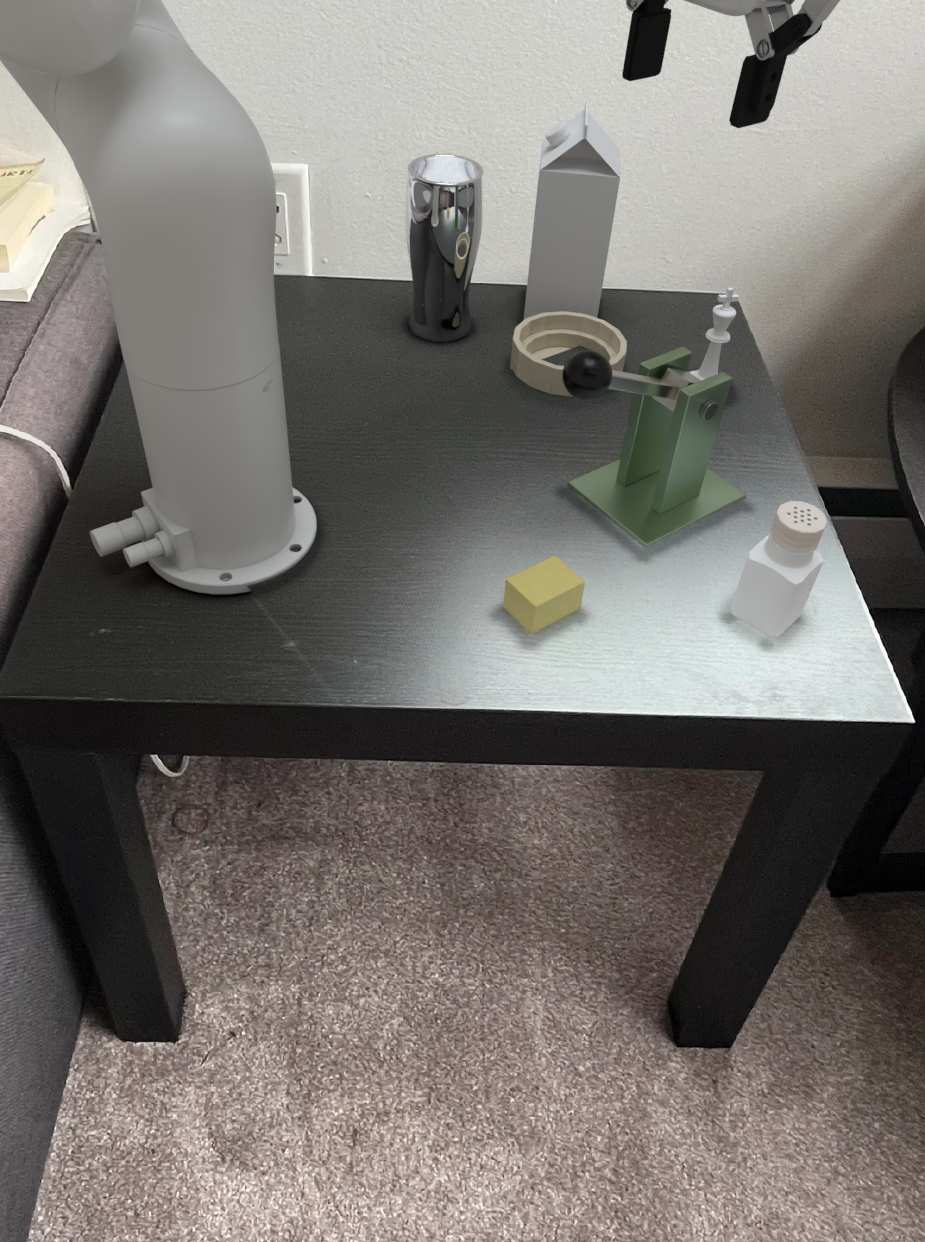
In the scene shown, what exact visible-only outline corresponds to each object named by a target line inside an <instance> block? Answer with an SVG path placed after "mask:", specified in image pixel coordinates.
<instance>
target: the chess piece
mask: <svg viewBox="0 0 925 1242" xmlns="http://www.w3.org/2000/svg"><path fill="white" fill-rule="evenodd" d="M734 291H735V289H734V288H733V287H726V290H725V294H718V295H717V298H716V300H717V302H718V303H722V304H717V305H715V306H713V308H712V320H713V322H712V323H713V324H712V325H713V327H712V328H709V329H707V331H706V333H705V337H706V339H707V340H709V341H710V342H709V345H708V348H707V350H706V352H705V355H704V358H703V361H702V362H701V365H700V368H699V369H696V370H691V371H688V372H689V373H691V374H692V375H694V376H696V377H697V378H699V379H700V380H704V379H706V378H709V377H711V376H713V375H716V374H718V373H719V364H720V357H721V350H722V344H726V343H728V342H730V340H731V335H730V332H728V331H727V329H728V328H729V326H730V325H731V323H732V321H734V319H735V317H736V315H737V311H736V308H734V307H733V306H731V302H733V303H734V302H739V298H740V296H739V294H737V293H734Z"/></svg>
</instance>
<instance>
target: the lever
mask: <svg viewBox="0 0 925 1242" xmlns="http://www.w3.org/2000/svg"><path fill="white" fill-rule="evenodd" d="M563 366H564V369H563V383H564V386H565V388H566V389H567V391H568V392H569V393H570V394H571V395H572V396H573V397H572V398H576V399H578V400H579V401H588V402H589V401H593V400H596V399H599V398H600V397H602V396H603V395H604V394H605V393H606V392H607V391H608V390H607V389H609V390H613V391H618V392H619V391H620V392H625V393H631V394H634V393H636V394H642V395H648V396H652V398H653V399H654V400H656V401H657V402H659V403H660V404H662V405H663V406H665V407H666V408H667V409H669V410H670V411H672V412H674V411H675V407H676V403H677V399H678V395H679V391H680V389H682V388H684V387H687V386H689V385H692V384H694V383H696V382H699V381H701V380H700V379H699V378H697V377H696V376H694V375H692V374H691V373H689V372H690V371H687V372H686V371H681V370H676V369H671V368H667V370H666V372H665V374H664V376H663V378H662V379H658V378H653V377H647V376H642V375H638V373H637V374H636V373H631V372H625V371H623V372H621V371H616V370H612V368H611V365H610V362H609V361H608V359H607V358H606V357H605V356H604V355H603V354H601V353H600V352H598V351H595V350H590V349H582V350H579V351H577V352H575V353H573V354H571V356H569V358H568V359H567V360H566V362H565V364H564V365H563Z"/></svg>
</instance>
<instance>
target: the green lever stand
mask: <svg viewBox="0 0 925 1242" xmlns="http://www.w3.org/2000/svg"><path fill="white" fill-rule="evenodd" d="M692 355H693V352H692V351H691V350H690V349H688V348H686V347H685V346H680V347H678V348H675V349H672V350H670V351H667V352H665V353H662V354H660V355H657V356H655V357H652V358H649V359H647V360H645V361H644V360H643V361H642V362H640V363H639V367H638V372H637V375H642V376H647V377H653V378H658V379H662V378H663V376H664V374H665V372H666V370H667V368H671V369H676V370H681V371H686V372H689V367H690V362H691V358H692ZM732 382H733V377H732V376H730V375H729V374H728V373H726V372H725V371H721V372H718V374H716V375H713V376H711V377H709V378H706V379H704V380H701V381H699V382H696V383H694V384H692V385H689V386H687V387H684V388H682V389H680V391H679V395H678V399H677V403H676V407H675V411H674V412H672V411H670V410H669V409H667V408H666V407H665V406H663V405H662V404H660V403H659V402H657V401H656V400H654V399H653V398H652V396H648V395H642V394H636V393H633V395H632V402H631V406H630V411H629V415H628V419H627V424H626V430H625V433H624V434H625V436H624V439H623V445H622V449H621V454H620V458H619V459H616V460H614V461H612V462H609V463H607V464H604V465H603V466H600V467H599V468H596V469H593V470H591V471H589V472H586V473H584V474H582V475H580V476H577V477H576V478H573V479H570V480H569V481H568V482H567V486H568V487H569V488H571V489H572V490H573V491H574V492H576V493H577V494H578V495H579V496H581V497H582V499H584V500H586V501H587V502H588V503H589V504H590V505H592V506H593V507H594V508H595V509H597V510H598V511H599V512H600V513H602V514H603V515H604V516H605V517H606V518H608V519H609V520H610V521H612V522H613V523H614V524H615V525H617V527H619V528H620V529H621V530H623V531H624V532H625V533H626V534H627V535H629V536H630V537H631V538H633V539H634V540H635V541H636V542H638V543H639V544H640V545H641V546H642V547H644V548H646V549H647V548H649V547H651V546H653V545H655V544H657V543H659V542H661V541H663V540H664V539H667V538H670V537H672V536H673V535H675V534H677V533H679V532H681V531H683V530H685V529H687V528H689V527H690V526H692V525H695V524H697V523H699V522H700V521H702V520H704V519H706V518H708V517H710V516H712V515H714V514H716V513H719V512H720V511H722V510H724V509H726V508H728V507H731V506H732V505H734V504H736V503H738V502H740V501H742V500H744V499H746V497H747V494H746V493H745V492H744V491H742V490H741V489H739V488H737V487H736V486H735V485H733V484H732V483H731V482H729V481H728V480H726V479H725V478H724V477H722V476H721V475H719V474H718V473H717V472H716V471H714V470H713V469H711V468H709V467H708V466H709V463H710V460H711V459H710V458H711V455H712V452H713V448H714V445H715V441H716V438H717V434H718V431H719V428H720V423H721V420H722V417H723V413H724V410H725V407H726V403H727V399H728V396H729V392H730V389H731V385H732Z"/></svg>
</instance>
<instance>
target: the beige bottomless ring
mask: <svg viewBox="0 0 925 1242" xmlns="http://www.w3.org/2000/svg"><path fill="white" fill-rule="evenodd" d="M523 320H524V319H523ZM523 320H522V321H521V322H520V323H519V324H517V325H516V326H515V327H514V330H513V336H512V340H511V351H510V352H511V353H510V361H509V369H510V371H513V372H514V374H515V377H517V378H518V379H519V380H521V381H522V382H523V383H525V385H528V386H529V387H530V388H533V389H535V390H537V391H540V392H544V393H546V394H548V395H554V396H560V397H562V396H563V397H571V398H574V397H573V396H572V395H571V394H570V393H569V392H568V391H567V389H566V388H565V386H564V383H563V369H564V366H565V365H559V364H554V363H552V362H549V361H546V360H544V359H546V358H549V357H552V356H554V355H555V356H556V355H557V354H560V353H563V352H566V351H569V350H572V349H574V348H578V347H582V348H585V349H586V350H595V351H598V352H600V353H601V354H603V355H604V356H605V357H606V358H607V359H608V361H609V362H610V365H611V368H612V370H616V371H621V372H624V368H625V361H626V356H627V348H628V346H627V345H628V341H627V340H626V338H625V336H624V335H623V333H622V332H621V331H620V329H618V328H617V327H615V326H614V325H612V324H611V323H610V322H608V321H606V320H605V319H602V318H599V317H597V318H596V317H593V316H590V315H587V314H582V313H574V312H566V311H559V312H546V313H540V314H537V315H534V316H531V317H528V318H526V319H525V320H524V321H523ZM608 390H610V389H607V391H608Z"/></svg>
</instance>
